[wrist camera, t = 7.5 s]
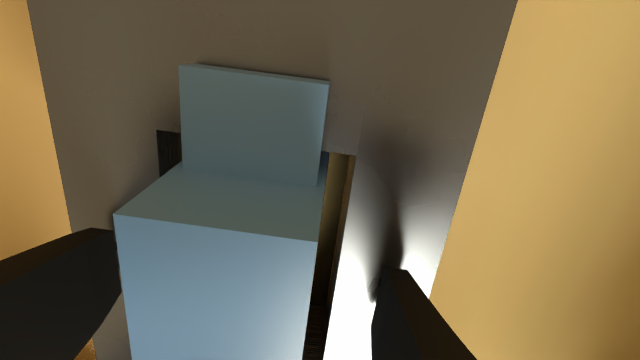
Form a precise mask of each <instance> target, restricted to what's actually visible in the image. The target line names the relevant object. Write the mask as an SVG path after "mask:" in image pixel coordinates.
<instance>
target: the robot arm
mask: <svg viewBox="0 0 640 360" xmlns="http://www.w3.org/2000/svg"><path fill="white" fill-rule="evenodd" d="M121 292H122V288H121V281H120V274H119V267H118V260H117V253H116V246H115V238H114V231H113V230H107V229H99V228H92V227H91V228H87V229H84V230H81V231H78V232H75V233H72V234H69V235H66V236H63V237H61V238H58V239H55V240H53V241H50V242H47V243H45V244H42V245H40V246H37V247H35V248H32V249H29V250H27V251H24V252H22V253H19V254H16V255H14V256H11V257H9V258H6V259H4V260H1V261H0V360H74V358H75V357H76V356H77V355H78V353H79V352H80V351H81V350H82V348H83V347H84V346H85V345H86V344H87V342H88V341H89V340H90V339H91V337H92V336H93V335H94V334H95V332H96V331H97V330H98V329H99V327H100V326H101V324H102V323H103V321H104V320H105V318H106V317H107V315H108V314H109V312H110V311H111V309H112V307H113V306H114V304H115V302H116V301H117V299H118V297H119V296H120V294H121ZM371 360H477V359H476V358H475V357H474V355H473V354H472V353H471V352H470V351H469V350H468V349H467V347H466V346H465V345H464V344H463V343H462V341H461V340H460V339H459V338H458V336H457V335H456V334H455V333H454V331H453V330H452V329H451V328H450V326H449V325H448V324H447V323H446V321H445V320H444V319H443V317H442V316H441V315H440V313H439V312H438V311H437V310H436V308H435V307H434V305H433V304H432V303H431V301H430V300H429V299H428V297H427V296H426V295H425V293H424V292H423V290H422V289H421V288H420V286H419V285H418V284H417V282H416V281H415V279H414V278H413V277H412V275H411V274H410V273H409V271H408V270H405V269H398V268H390V267H384V269H383V273H382V278H381V282H380V287H379V291H378V295H377V300H376V304H375V309H374V313H373V318H372V322H371Z"/></svg>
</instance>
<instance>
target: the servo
mask: <svg viewBox="0 0 640 360" xmlns="http://www.w3.org/2000/svg"><path fill="white" fill-rule="evenodd" d="M329 86H330V81H324V80H317V79H309V78H302V77H294V76H286V75H279V74H271V73H263V72H256V71H248V70H241V69H233V68H225V67H218V66H210V65H203V64H195V63H188V64H183V65H179V90H180V115H181V140H182V161H181V162H180V163H178V164H177V165H176V166H174V167H173V168H172V169H171V170H169V171H168V172H167V173H165V174H164V175H163V176H162V177H160V178H159V179H158V180H156V181H155V182H154V183H152V184H151V185H150V186H149V187H147V188H146V189H145V190H143V191H142V192H141V193H139V194H138V195H137V196H136V197H134V198H133V199H132V200H130V201H129V202H128V203H126V204H125V205H124V206H123V207H121V208H120V209H119V210H117V211H116V212H115V213H114V214H113V219H114V227H115V234H116V242H117V250H118V257H119V265H120V272H121V280H122V287H123V295H124V303H125V310H126V318H127V325H128V333H129V340H130V348H131V355H132V360H302V355H303V348H304V340H305V333H306V326H307V319H308V311H309V304H310V297H311V289H312V282H313V275H314V268H315V260H316V253H317V246H318V238H319V231H320V223H321V215H322V208H323V200H324V192H325V185H326V177H327V169H328V162H329V154H330V152H325V151H321V149H322V141H323V133H324V125H325V118H326V110H327V102H328V94H329Z"/></svg>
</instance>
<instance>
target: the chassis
mask: <svg viewBox="0 0 640 360" xmlns="http://www.w3.org/2000/svg"><path fill="white" fill-rule="evenodd" d="M517 1H518V0H27V5H28V10H29V15H30V20H31V25H32V30H33V35H34V41H35V46H36V51H37V56H38V61H39V66H40V71H41V76H42V82H43V87H44V92H45V97H46V102H47V107H48V112H49V117H50V123H51V128H52V133H53V138H54V143H55V148H56V153H57V159H58V164H59V169H60V174H61V179H62V184H63V189H64V194H65V200H66V205H67V210H68V215H69V220H70V225H71V230H72V233H75V232H78V231H81V230H84V229H87V228H91V227H92V228H99V229H107V230H113V231H114V238H115V246H116V253H117V260H118V267H119V274H120V281H121V288H122V292H121V294H120V296H119V297H118V299H117V301H116V302H115V304H114V306H113V307H112V309H111V311H110V312H109V314H108V315H107V317H106V318H105V320H104V321H103V323H102V324H101V326H100V327H99V329H98V330H97V331H96V332H95V334H94V335H93V336H92V338H93V343H94V348H95V353H96V359H97V360H132V355H131V348H130V340H129V333H128V325H127V318H126V310H125V303H124V295H123V287H122V280H121V272H120V265H119V257H118V250H117V242H116V234H115V227H114V219H113V214H114V213H115V212H116V211H117V210H119V209H120V208H121V207H123V206H124V205H125V204H126V203H128V202H129V201H130V200H132V199H133V198H134V197H136V196H137V195H138V194H139V193H141V192H142V191H143V190H145V189H146V188H147V187H149V186H150V185H151V184H152V183H154V182H155V181H156V180H158V179H159V178H160V177H162V176H163V175H164V174H165V173H167V172H168V171H169V170H171V169H172V168H173V167H174V166H176V165H177V164H178V163H180V162H181V161H182V140H181V115H180V90H179V65H183V64H188V63H195V64H203V65H210V66H218V67H225V68H233V69H241V70H248V71H256V72H263V73H271V74H279V75H286V76H294V77H302V78H309V79H317V80H324V81H330V86H329V94H328V102H327V110H326V118H325V125H324V133H323V141H322V149H321V151H325V152H333V153H341V154H349V159H348V166H347V172H346V179H345V185H344V192H343V198H342V205H341V211H340V218H339V224H338V231H337V237H336V244H335V250H334V257H333V263H332V270H331V276H330V283H329V289H328V296H327V302H326V306H318V305H311V304H309V311H308V319H307V326H306V333H305V340H304V348H303V355H302V360H371V322H372V318H373V313H374V309H375V304H376V300H377V295H378V291H379V287H380V282H381V278H382V273H383V269H384V267H390V268H398V269H405V270H408V271H409V273H410V274H411V275H412V277H413V278H414V279H415V281H416V282H417V284H418V285H419V286H420V288H421V289H422V290H423V292H424V293H425V295H426V296H427V297H428V298H429V295H430V292H431V288H432V285H433V282H434V278H435V275H436V272H437V268H438V265H439V262H440V258H441V255H442V252H443V248H444V245H445V242H446V238H447V235H448V232H449V228H450V225H451V222H452V218H453V215H454V212H455V208H456V205H457V202H458V198H459V195H460V192H461V188H462V185H463V182H464V178H465V175H466V172H467V168H468V165H469V162H470V158H471V155H472V151H473V148H474V145H475V141H476V138H477V135H478V131H479V128H480V125H481V121H482V118H483V115H484V111H485V108H486V105H487V101H488V98H489V95H490V91H491V88H492V85H493V81H494V78H495V75H496V71H497V68H498V65H499V61H500V58H501V55H502V51H503V48H504V45H505V41H506V38H507V35H508V31H509V28H510V25H511V21H512V18H513V15H514V11H515V8H516V5H517Z"/></svg>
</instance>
